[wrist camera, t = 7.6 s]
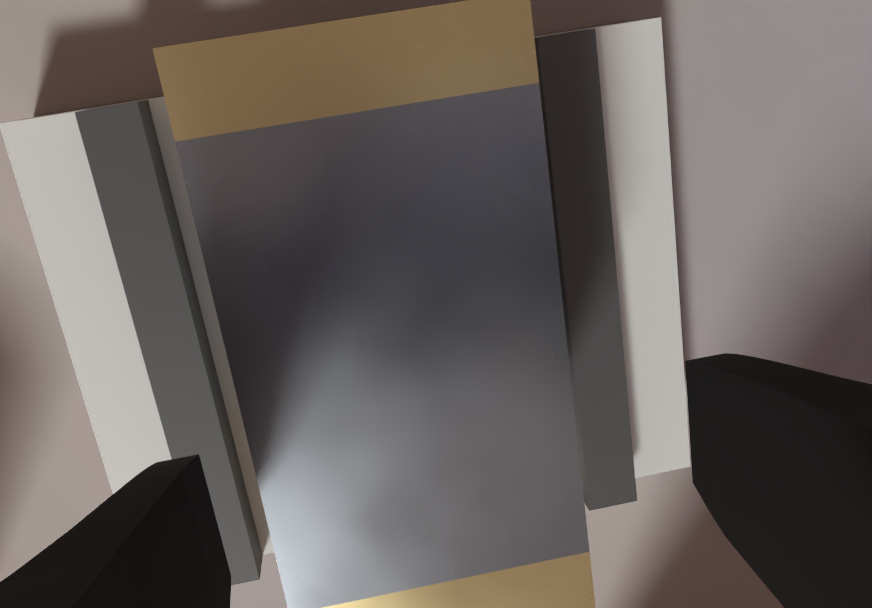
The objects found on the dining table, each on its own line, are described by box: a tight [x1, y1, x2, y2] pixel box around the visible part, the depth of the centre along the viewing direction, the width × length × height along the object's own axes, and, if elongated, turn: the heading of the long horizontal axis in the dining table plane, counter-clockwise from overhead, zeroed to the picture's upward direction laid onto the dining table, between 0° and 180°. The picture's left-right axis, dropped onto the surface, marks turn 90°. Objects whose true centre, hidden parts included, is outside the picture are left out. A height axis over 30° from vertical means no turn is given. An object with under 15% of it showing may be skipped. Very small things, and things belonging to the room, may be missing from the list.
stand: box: [0, 17, 690, 585], centre depth 19 cm, size 14×11×3 cm
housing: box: [152, 0, 595, 608], centre depth 15 cm, size 10×5×6 cm, turn 9°
